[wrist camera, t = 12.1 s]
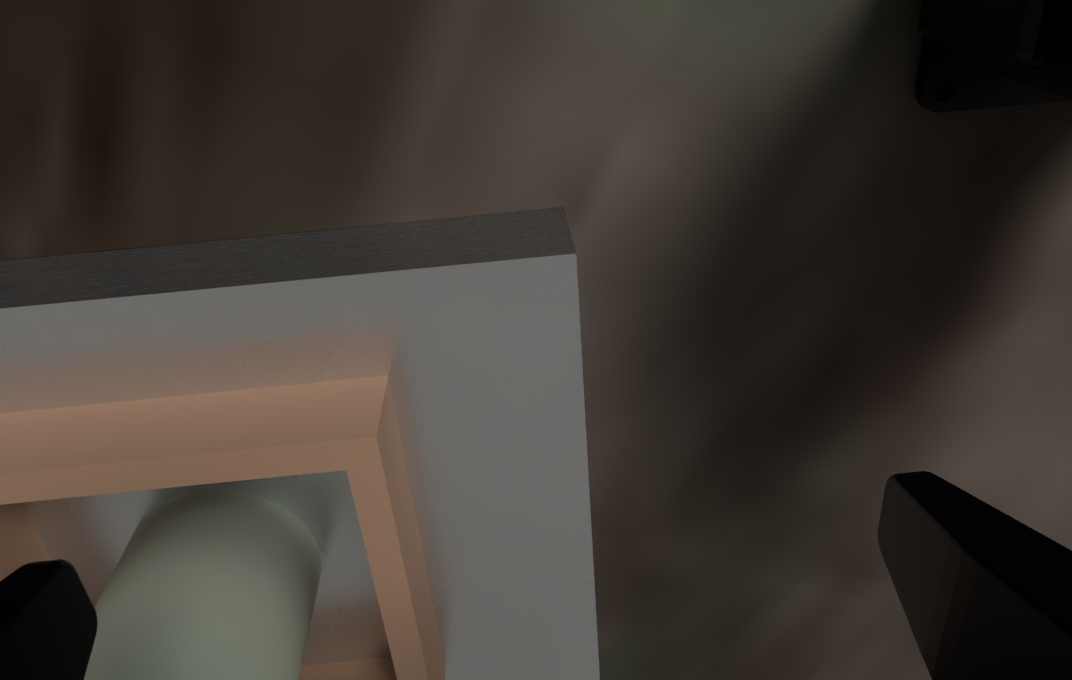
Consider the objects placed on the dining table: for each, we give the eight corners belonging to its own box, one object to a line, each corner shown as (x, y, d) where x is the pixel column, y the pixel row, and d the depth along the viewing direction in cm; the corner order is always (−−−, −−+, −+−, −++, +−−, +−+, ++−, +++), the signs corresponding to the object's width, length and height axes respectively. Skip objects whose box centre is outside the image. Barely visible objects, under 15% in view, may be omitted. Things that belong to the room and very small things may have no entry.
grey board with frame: (563, 207, 21) (589, 302, 16) (590, 635, 29) (613, 784, 24) (-222, 282, 20) (-437, 402, 16) (24, 694, 28) (-69, 858, 23)
